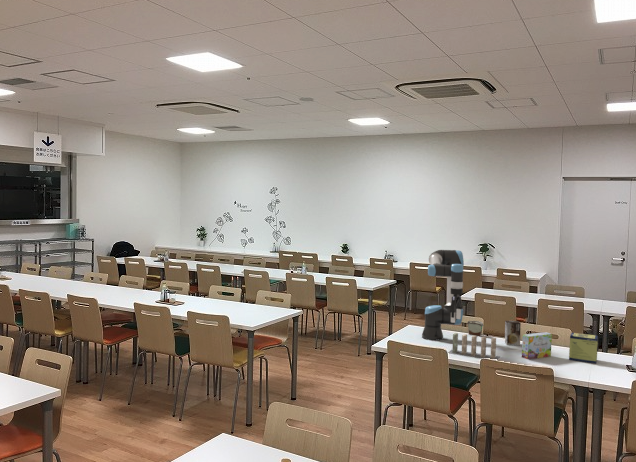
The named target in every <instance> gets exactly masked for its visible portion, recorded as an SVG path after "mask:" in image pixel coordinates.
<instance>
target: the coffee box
mask: <svg viewBox="0 0 636 462" xmlns="http://www.w3.org/2000/svg"><path fill="white" fill-rule="evenodd" d="M504 344H505V345H506V346H521V322H520V321H518V320H505V321H504Z"/></svg>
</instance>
